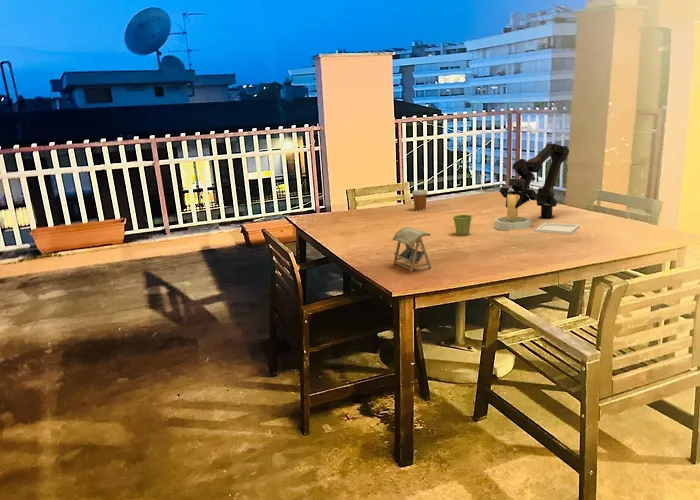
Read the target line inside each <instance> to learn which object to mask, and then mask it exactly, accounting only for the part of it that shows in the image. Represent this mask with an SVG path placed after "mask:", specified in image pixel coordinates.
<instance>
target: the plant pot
mask: <svg viewBox="0 0 700 500" xmlns="http://www.w3.org/2000/svg"><path fill="white" fill-rule="evenodd" d="M472 218H473V216H472V215H471V214H457V215H453V216H452V219H453V222H454V226H455V233H456V235H457V236H465V235H469V234H470V231H471V230H470V229H471V222H472Z"/></svg>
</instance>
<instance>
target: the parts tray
mask: <svg viewBox="0 0 700 500" xmlns="http://www.w3.org/2000/svg"><path fill="white" fill-rule="evenodd" d="M579 228H580V224H573V223H560V222H559V223H558V222H544V223H543V224H541V225H539V226H538V227H536V228H535V229H534V232H535V233H543V234H561V235H572V234H573V233H574V232H576V231H577V230H578V229H579Z"/></svg>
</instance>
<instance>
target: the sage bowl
mask: <svg viewBox="0 0 700 500" xmlns="http://www.w3.org/2000/svg"><path fill="white" fill-rule="evenodd" d="M531 222H532V220H531V218H528V217H525V216H518V219H514V220H511V219H507V216H500V217H497V218H496V219H494V229H496V230H498V231H504V232H509V231H511V230H525V229H528V228H530V227H531V225H532V223H531Z"/></svg>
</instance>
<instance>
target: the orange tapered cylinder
mask: <svg viewBox="0 0 700 500" xmlns="http://www.w3.org/2000/svg"><path fill="white" fill-rule="evenodd" d="M518 200H519V196H518V194H507V207H506V209H507V210H506V211H507V212H506V215H507V216H506V217H507V219H511V220H514V219H518V217H519V211H518V210H519V207H518V208H515V206H516V203H517V202H518Z"/></svg>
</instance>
